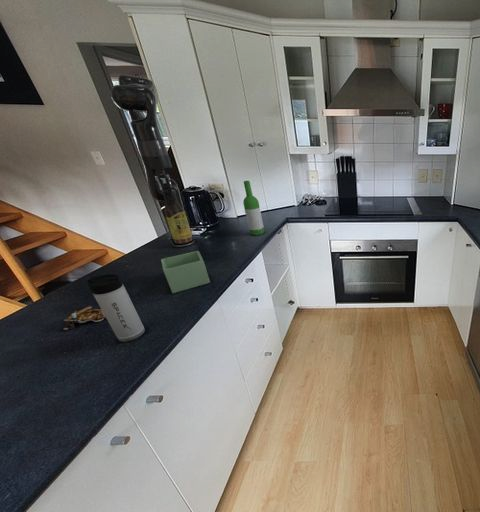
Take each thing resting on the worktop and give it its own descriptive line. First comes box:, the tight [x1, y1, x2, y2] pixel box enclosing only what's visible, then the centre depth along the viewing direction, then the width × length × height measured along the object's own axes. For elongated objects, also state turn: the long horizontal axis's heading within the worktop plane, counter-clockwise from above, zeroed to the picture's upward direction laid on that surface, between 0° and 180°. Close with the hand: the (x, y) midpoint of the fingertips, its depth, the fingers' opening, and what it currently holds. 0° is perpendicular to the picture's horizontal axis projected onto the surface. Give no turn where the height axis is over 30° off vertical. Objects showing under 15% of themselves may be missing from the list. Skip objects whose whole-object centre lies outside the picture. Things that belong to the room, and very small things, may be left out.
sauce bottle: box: [162, 190, 194, 244], centre depth 103 cm, size 7×6×20 cm
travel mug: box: [86, 273, 146, 343], centre depth 78 cm, size 6×7×20 cm
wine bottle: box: [242, 180, 265, 236], centre depth 151 cm, size 8×8×30 cm
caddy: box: [160, 250, 211, 294], centre depth 108 cm, size 12×13×10 cm
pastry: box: [63, 306, 106, 331], centre depth 88 cm, size 7×12×4 cm, turn 125°
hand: (171, 203), depth 100 cm, fingers closed on sauce bottle, 4 cm apart
